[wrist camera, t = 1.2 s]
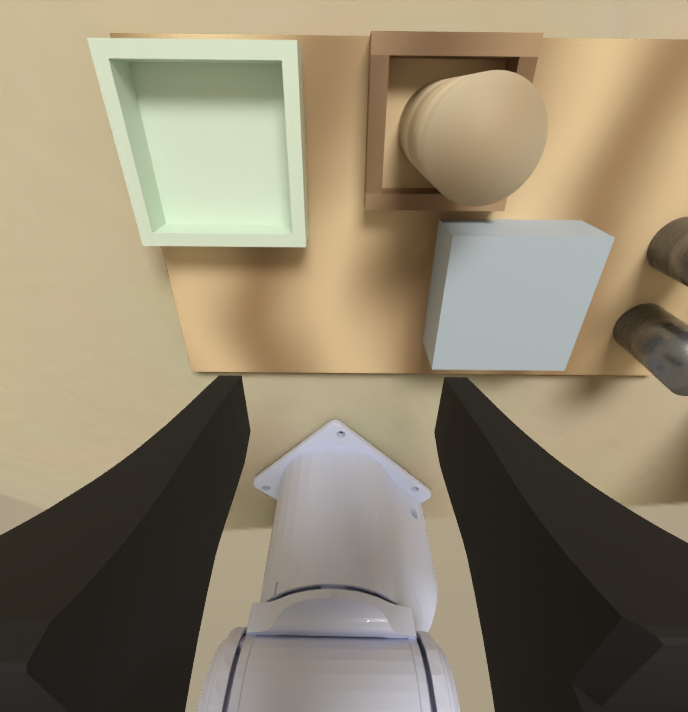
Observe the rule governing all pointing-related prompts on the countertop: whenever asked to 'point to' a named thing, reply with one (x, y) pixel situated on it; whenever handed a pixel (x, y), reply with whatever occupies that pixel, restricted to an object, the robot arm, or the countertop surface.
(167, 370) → the countertop surface
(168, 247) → the bench board
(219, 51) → the sage tray
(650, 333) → the bench dogs
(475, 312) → the slate block
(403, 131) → the beech dowel
